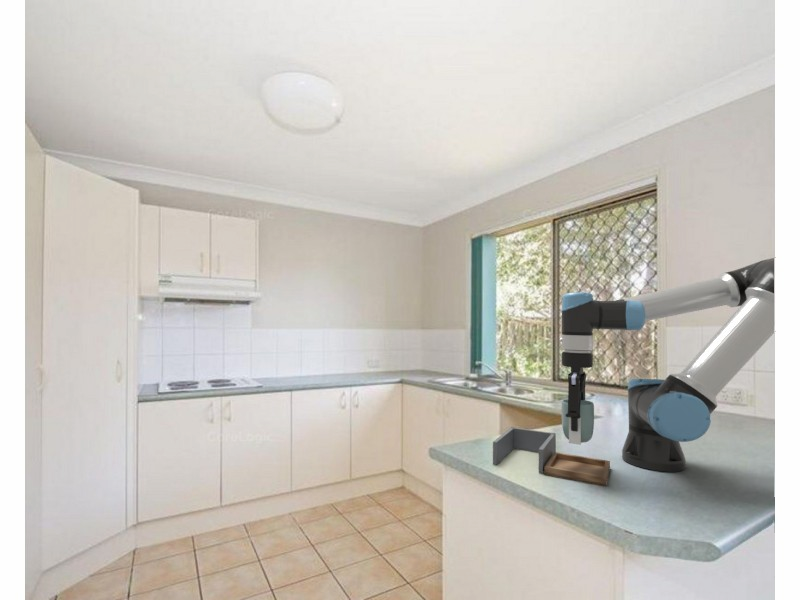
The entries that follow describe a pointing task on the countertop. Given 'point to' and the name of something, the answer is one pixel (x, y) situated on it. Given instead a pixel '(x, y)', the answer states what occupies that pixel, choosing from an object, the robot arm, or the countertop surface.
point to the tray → (578, 468)
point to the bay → (525, 444)
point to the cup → (585, 416)
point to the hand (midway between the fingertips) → (577, 439)
